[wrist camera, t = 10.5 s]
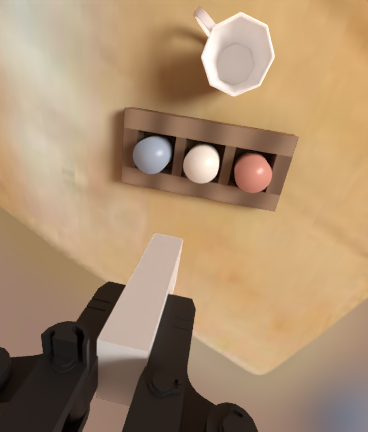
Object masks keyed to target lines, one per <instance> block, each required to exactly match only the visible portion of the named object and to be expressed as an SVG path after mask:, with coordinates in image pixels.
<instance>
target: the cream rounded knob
mask: <svg viewBox="0 0 368 432" xmlns="http://www.w3.org/2000/svg"><path fill="white" fill-rule="evenodd" d="M219 160H220V158H219V154H218V151H217V150H216V149H215V148H214V147H213V146H212V145H210V144H207V143H200V144H197V145H195V146H194V147H193V148H192V149H191V150H190V151H189V153H188V154H187V156H186V157H185V159H184V163H183V168H184V172H185V174H186V176H187V177H188V178H189V179H190V180H191V181H193V182H195V183H207V182H209V181H211V180H212V179H213V178H214V177H215V176H216V174H217V172H218V169H219Z"/></svg>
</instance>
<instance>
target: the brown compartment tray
mask: <svg viewBox="0 0 368 432" xmlns="http://www.w3.org/2000/svg"><path fill="white" fill-rule="evenodd" d="M144 131H147V132H153V133H158V134H164V135H170V136H176V144H175V152H174V160H173V167H172V169H168V168H163V170H161V171H160V172H158V173H156V174H147V173H144V172H142V171H141V170H140V169H139V168H138V167H137V166H136V164H135V162H134V159H133V151H134V148H135V146H136V145H137V144H138V143H139V142H140V141H142V140H143V137H144ZM298 138H299V137H297V136H295V135H293V134H287V133H281V132H275V131H270V130H264V129H258V128H252V127H246V126H240V125H234V124H228V123H222V122H216V121H210V120H205V119H199V118H193V117H187V116H181V115H175V114H169V113H163V112H157V111H151V110H146V109H140V108H134V107H130V108H125V113H124V134H123V155H122V176H121V182H123V183H128V184H133V185H138V186H144V187H149V188H154V189H159V190H164V191H170V192H175V193H180V194H185V195H191V196H196V197H201V198H206V199H211V200H217V201H222V202H227V203H232V204H238V205H243V206H248V207H253V208H258V209H264V210H269V211H274V212H275V209H276V206H277V203H278V200H279V197H280V194H281V191H282V188H283V185H284V182H285V178H286V175H287V172H288V169H289V166H290V163H291V160H292V157H293V154H294V151H295V147H296V144H297V141H298ZM189 139H193V140H198V141H204V142H210V143H215V144H221V145H225V150H224V155H223V159H222V164H221V169H220V174H219V178H216V177H214V178H213V179H212V180H211V181H209V182H207V183H195V182H193V181H191V180H190V179H189V178H188V177H187V176H186V174H185V172H184V168H183V163H184V159H185V157H186V154H187V147H188V141H189ZM236 147H238V148H244V149H250V150H255V151H261V152H267V153H272V157H271V160H270V164H269V165H270V167H271V170H272V179H271V181H270V183H269V185H268V186H267V187H266V188H265V189H264V190H262V191H260V192H257V193H248V192H245V191H243V190H241V189H240V188H239V187H238V185H237V184H236V181H233V180H229V177H230V172H231V168H232V164H233V159H234V155H235V150H236Z"/></svg>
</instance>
